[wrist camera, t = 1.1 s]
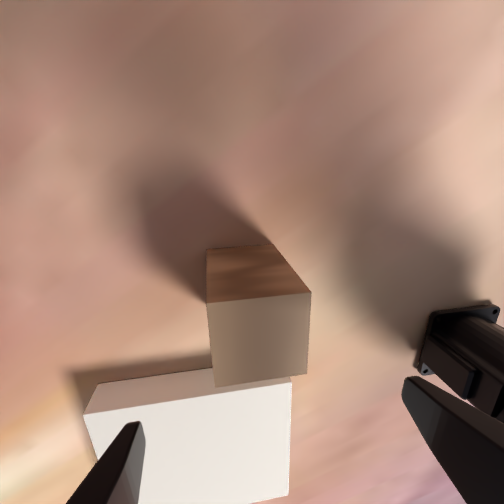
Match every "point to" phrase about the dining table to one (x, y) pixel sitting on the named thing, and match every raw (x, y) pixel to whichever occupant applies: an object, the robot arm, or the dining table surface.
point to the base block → (200, 436)
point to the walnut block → (255, 315)
